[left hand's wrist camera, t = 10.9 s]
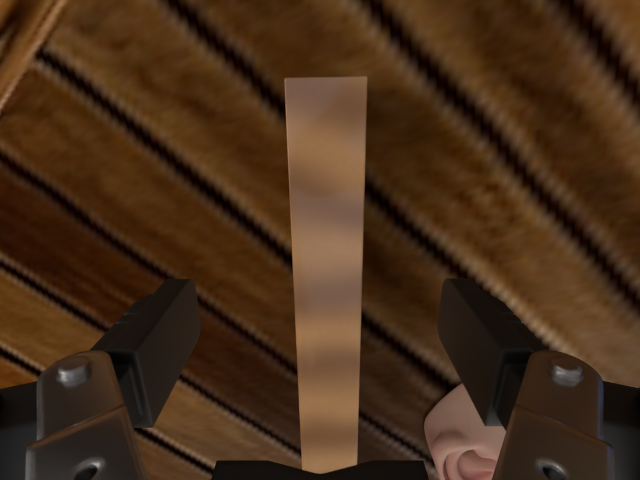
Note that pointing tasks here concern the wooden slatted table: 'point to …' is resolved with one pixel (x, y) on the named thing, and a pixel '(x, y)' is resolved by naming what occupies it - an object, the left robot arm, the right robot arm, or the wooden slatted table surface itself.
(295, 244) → the beam
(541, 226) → the wooden slatted table surface
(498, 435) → the anatomical model
